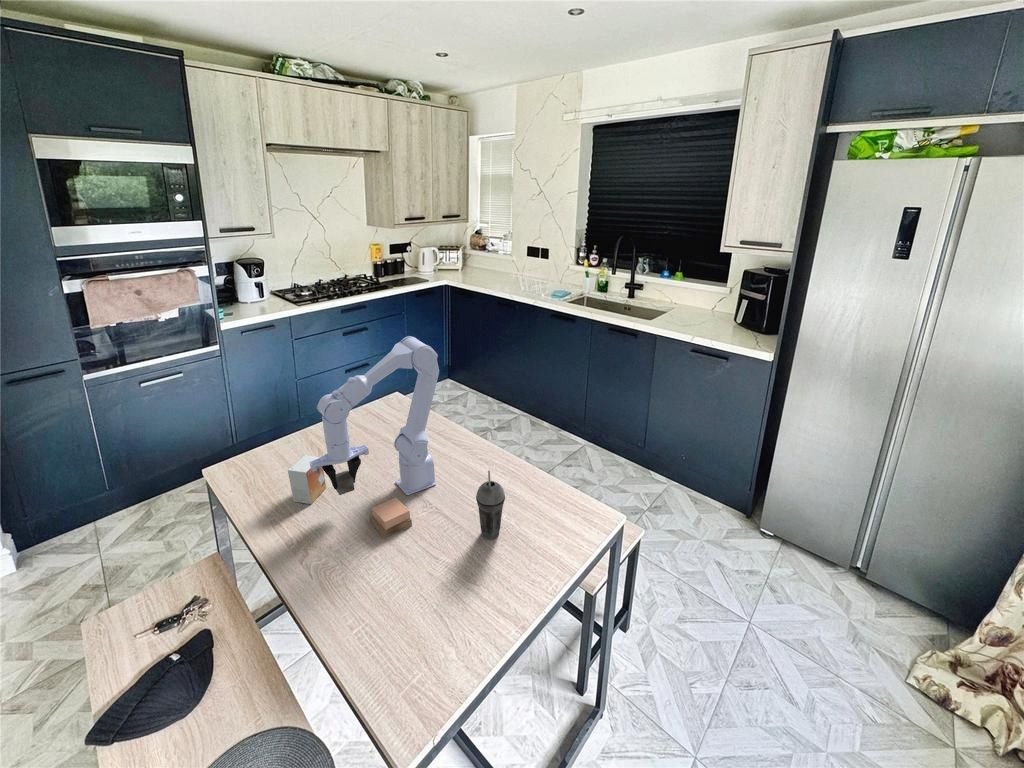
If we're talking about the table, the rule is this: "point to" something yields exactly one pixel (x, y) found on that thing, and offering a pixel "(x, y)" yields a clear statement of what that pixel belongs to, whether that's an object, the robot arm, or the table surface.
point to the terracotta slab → (390, 513)
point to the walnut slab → (393, 529)
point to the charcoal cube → (344, 482)
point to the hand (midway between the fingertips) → (343, 484)
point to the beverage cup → (490, 508)
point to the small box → (306, 480)
